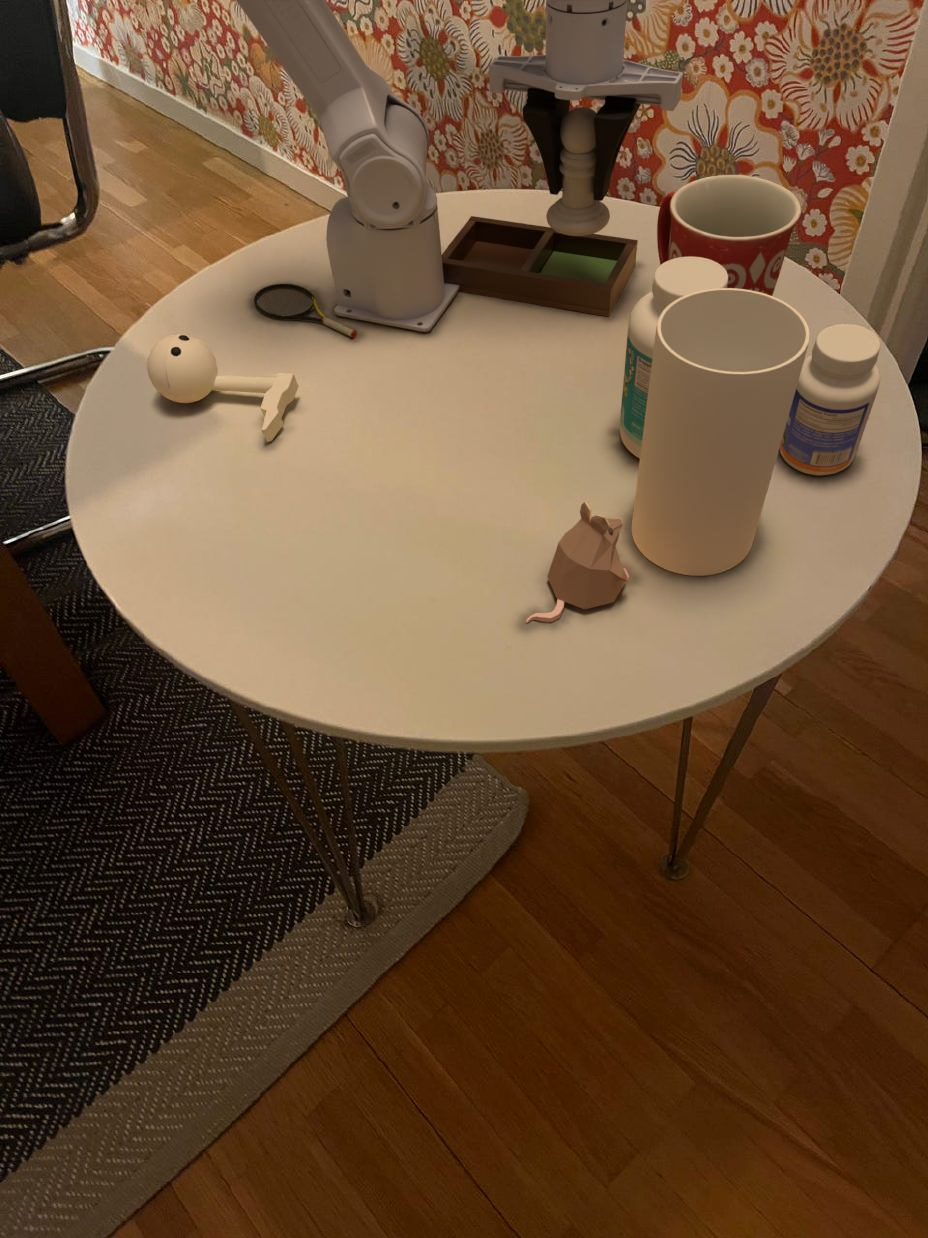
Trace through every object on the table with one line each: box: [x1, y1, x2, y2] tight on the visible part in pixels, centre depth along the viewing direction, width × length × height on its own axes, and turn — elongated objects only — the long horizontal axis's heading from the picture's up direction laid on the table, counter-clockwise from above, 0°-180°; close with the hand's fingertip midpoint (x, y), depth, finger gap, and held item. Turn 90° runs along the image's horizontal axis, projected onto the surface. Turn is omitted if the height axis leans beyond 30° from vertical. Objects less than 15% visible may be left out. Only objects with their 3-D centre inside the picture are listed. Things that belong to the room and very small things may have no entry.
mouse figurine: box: [525, 501, 630, 624], centre depth 56 cm, size 5×8×7 cm, turn 127°
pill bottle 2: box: [779, 323, 881, 476], centre depth 61 cm, size 5×5×10 cm
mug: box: [656, 174, 802, 297], centre depth 68 cm, size 13×9×14 cm
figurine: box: [146, 333, 299, 443], centre depth 71 cm, size 8×6×12 cm
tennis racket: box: [253, 283, 358, 339], centre depth 81 cm, size 12×1×5 cm
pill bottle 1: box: [619, 257, 728, 459], centre depth 62 cm, size 8×7×14 cm
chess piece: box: [545, 106, 611, 236], centre depth 71 cm, size 5×5×9 cm
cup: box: [631, 288, 810, 577], centre depth 55 cm, size 8×8×16 cm
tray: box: [442, 215, 639, 317], centre depth 81 cm, size 9×16×3 cm, turn 68°
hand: (578, 191), depth 73 cm, fingers closed on chess piece, 3 cm apart
